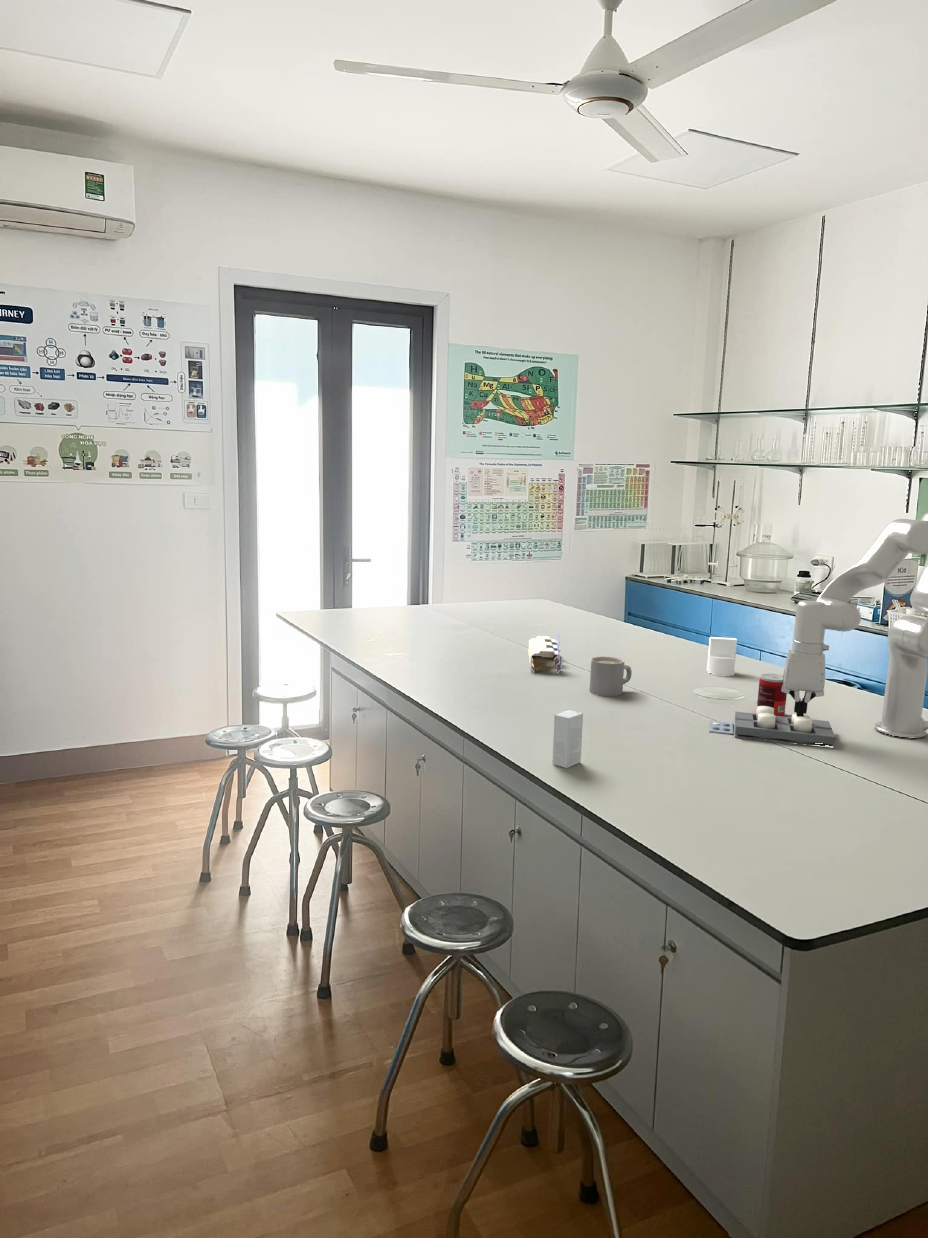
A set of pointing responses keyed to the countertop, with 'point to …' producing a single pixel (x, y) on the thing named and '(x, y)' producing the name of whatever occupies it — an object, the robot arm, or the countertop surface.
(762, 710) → the button
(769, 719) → the button
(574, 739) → the skincare box
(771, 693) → the canned food
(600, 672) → the coffee mug
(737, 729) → the button board
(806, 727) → the button
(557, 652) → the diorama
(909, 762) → the countertop surface
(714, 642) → the cylinder with rectangular tab
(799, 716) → the button
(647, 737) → the countertop surface
